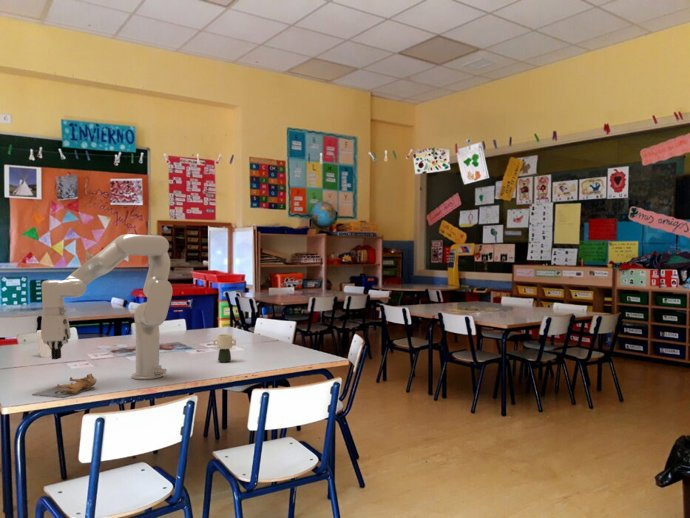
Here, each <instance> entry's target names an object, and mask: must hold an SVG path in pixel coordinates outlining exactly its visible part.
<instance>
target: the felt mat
mask: <svg viewBox="0 0 690 518" xmlns="http://www.w3.org/2000/svg"><path fill="white" fill-rule="evenodd" d="M59 385H60V384H59ZM62 385H67V384H61V385H60V386H62ZM94 388H95V386H91V387H89V388H87V389H81V390H79V391H78V392H77V393H67V392H58V393H56V394H55V392H56V391H59V390H61V389H69V388H67V387H63V388H57V386H54V387H50V388H48V389H44V390H41V391H39V392H35V393H32V394H31V395H32V396H37V395H40V396H39V397H48V396H52V397H51V398H59V397H61V398H60V399H64V398H68V397H71V396H73V395H76V394H79V393H82V392H86V391H88V390H91V389H94Z"/></svg>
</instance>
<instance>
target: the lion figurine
mask: <svg viewBox="0 0 690 518" xmlns="http://www.w3.org/2000/svg"><path fill="white" fill-rule="evenodd" d="M69 381H70V382H72V383H69V384H67V385H64V384H61V385H62V386H60V383H59V384H57V385H56V387H57V388H63V387H67V388H69V389H61V390H59V391H56V392H55V394H56V393H58V392H67V393H77V392H78V391H79V390H81V389H87V388H89V387H94V386H95V384H96V383H97V378H95V377H94V376H93V373H89V374H86V376H84V377H82V378H73V377H71V376H70V377H69ZM73 382H74V383H73ZM77 394H78V393H77Z"/></svg>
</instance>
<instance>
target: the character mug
mask: <svg viewBox="0 0 690 518" xmlns="http://www.w3.org/2000/svg"><path fill="white" fill-rule="evenodd" d="M212 342H213V346H217V347H216V348H217V349H219V351H218V356H217V357H218V358H217V361H219V362H221V363H223V362H224V363H225V362H227V363H228V362H229V361H232V355H231V350H230V349H231V348H232V347H233V346H237V338H233V335H232V334H230V333H222V334H217V337H216V338H213V340H212Z"/></svg>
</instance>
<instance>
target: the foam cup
mask: <svg viewBox="0 0 690 518" xmlns="http://www.w3.org/2000/svg"><path fill="white" fill-rule="evenodd" d="M36 337H37V338H36V339H37V343H38V345H37V346H38V351H39V357H40V356H41V357H40V358H51V357H50V356H52V354H51V349H50V348H49V346H48V344H44V343H43V340H42V337H41V329H39V330H36Z"/></svg>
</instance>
